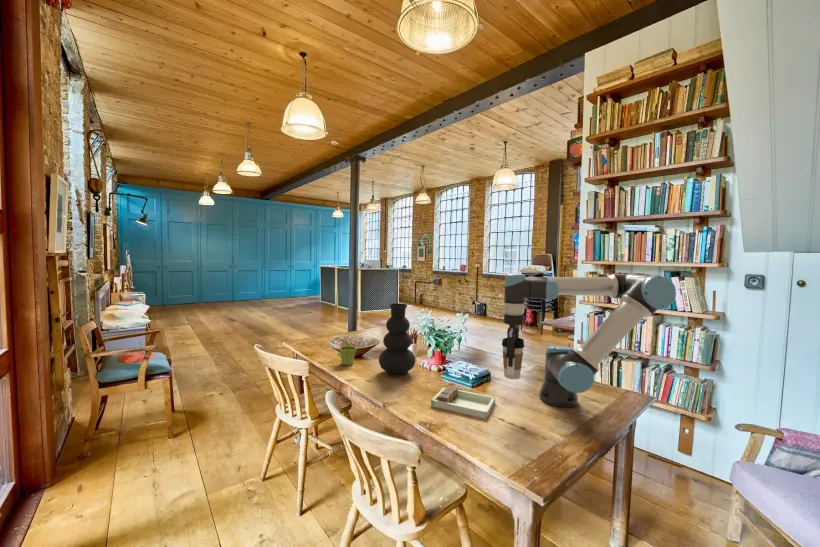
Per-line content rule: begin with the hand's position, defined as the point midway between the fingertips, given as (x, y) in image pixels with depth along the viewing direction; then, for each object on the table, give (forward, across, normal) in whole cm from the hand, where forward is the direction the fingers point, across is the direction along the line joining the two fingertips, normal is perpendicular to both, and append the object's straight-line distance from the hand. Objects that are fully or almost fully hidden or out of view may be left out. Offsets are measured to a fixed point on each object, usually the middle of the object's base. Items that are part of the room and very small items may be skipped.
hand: (512, 371), depth 137 cm
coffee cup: (+2, 0, 0) cm, 2 cm away
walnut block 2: (+14, +6, -24) cm, 29 cm away
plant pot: (+15, -15, -89) cm, 91 cm away
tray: (+16, +6, -18) cm, 24 cm away
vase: (+15, -15, -59) cm, 62 cm away
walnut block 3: (+15, +2, -24) cm, 28 cm away
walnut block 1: (+14, +10, -24) cm, 30 cm away
